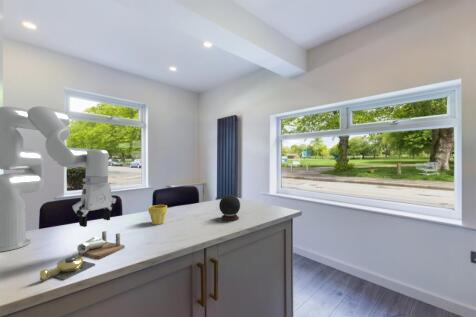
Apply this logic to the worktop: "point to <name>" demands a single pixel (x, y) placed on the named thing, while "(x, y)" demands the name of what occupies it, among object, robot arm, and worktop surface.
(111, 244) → the peg rack
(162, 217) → the plant pot
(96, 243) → the pipe fitting
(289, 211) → the worktop surface
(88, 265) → the base
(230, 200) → the black round ball
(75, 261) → the gold elongated piece
